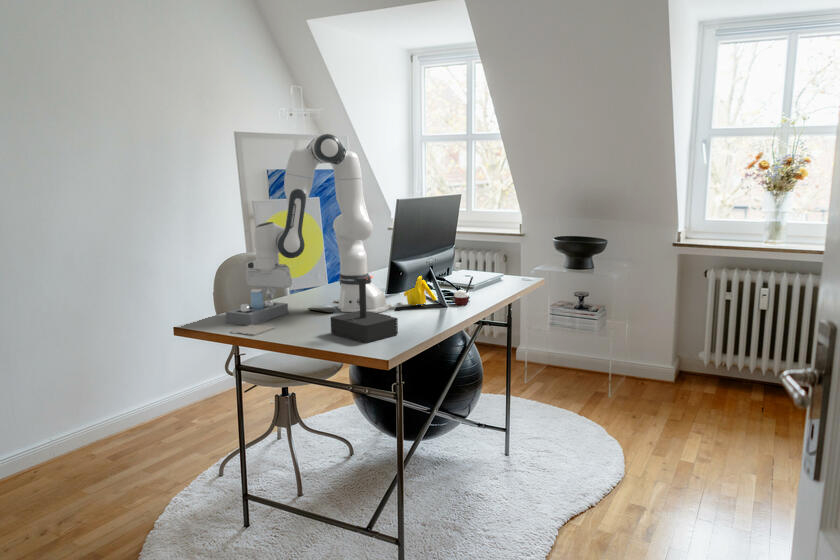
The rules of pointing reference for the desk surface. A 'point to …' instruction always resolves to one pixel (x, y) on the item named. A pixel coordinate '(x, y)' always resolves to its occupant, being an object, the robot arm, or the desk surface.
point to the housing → (257, 314)
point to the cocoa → (462, 296)
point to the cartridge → (257, 299)
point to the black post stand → (364, 321)
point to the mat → (253, 329)
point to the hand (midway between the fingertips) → (270, 297)
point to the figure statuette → (419, 293)
